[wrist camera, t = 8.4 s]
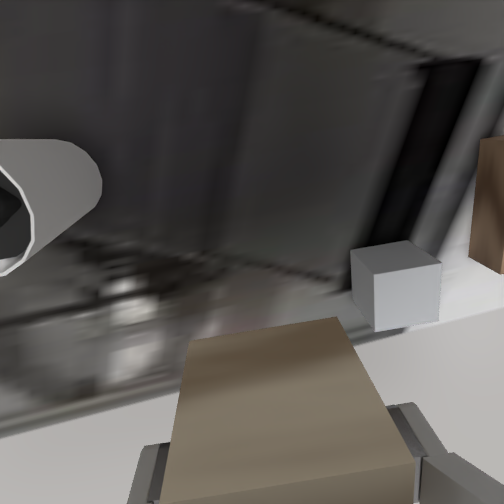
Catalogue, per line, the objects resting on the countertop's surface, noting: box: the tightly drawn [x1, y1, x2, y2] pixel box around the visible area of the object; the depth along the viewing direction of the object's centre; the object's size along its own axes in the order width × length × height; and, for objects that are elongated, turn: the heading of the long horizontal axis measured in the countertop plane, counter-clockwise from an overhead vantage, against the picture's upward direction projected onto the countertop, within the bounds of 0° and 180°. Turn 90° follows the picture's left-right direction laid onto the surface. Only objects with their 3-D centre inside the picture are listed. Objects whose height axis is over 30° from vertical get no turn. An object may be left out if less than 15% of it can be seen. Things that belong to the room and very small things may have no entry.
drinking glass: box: [0, 139, 102, 276], centre depth 20 cm, size 7×7×10 cm
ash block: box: [159, 317, 416, 504], centre depth 9 cm, size 5×5×5 cm
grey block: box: [350, 240, 442, 332], centre depth 27 cm, size 5×5×5 cm
